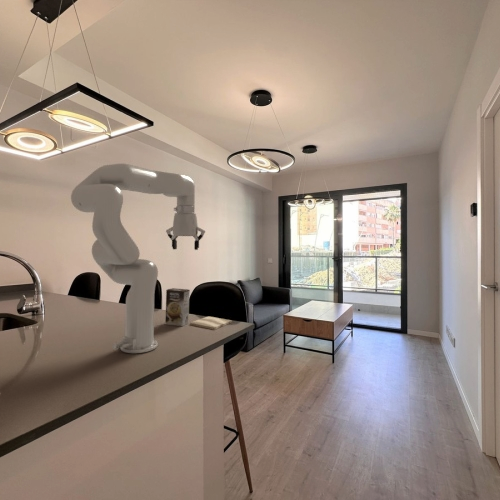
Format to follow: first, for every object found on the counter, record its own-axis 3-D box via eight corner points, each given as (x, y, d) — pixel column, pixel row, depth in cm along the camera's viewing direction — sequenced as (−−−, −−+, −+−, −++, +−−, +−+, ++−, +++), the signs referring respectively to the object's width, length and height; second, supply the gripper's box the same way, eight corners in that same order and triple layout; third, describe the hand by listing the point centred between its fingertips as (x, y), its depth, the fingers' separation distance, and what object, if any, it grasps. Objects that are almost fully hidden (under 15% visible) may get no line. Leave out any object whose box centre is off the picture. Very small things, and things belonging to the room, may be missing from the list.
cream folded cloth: (214, 329, 127) (214, 327, 127) (189, 324, 134) (189, 322, 134) (231, 322, 139) (231, 320, 139) (208, 318, 146) (208, 316, 146)
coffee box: (164, 324, 133) (165, 289, 132) (171, 321, 139) (172, 287, 139) (182, 326, 131) (183, 291, 130) (189, 322, 137) (189, 288, 136)
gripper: (163, 209, 123) (163, 249, 124) (203, 209, 121) (202, 250, 122) (169, 211, 130) (169, 248, 131) (207, 211, 129) (206, 249, 130)
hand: (185, 249), depth 127 cm, fingers open, 9 cm apart
